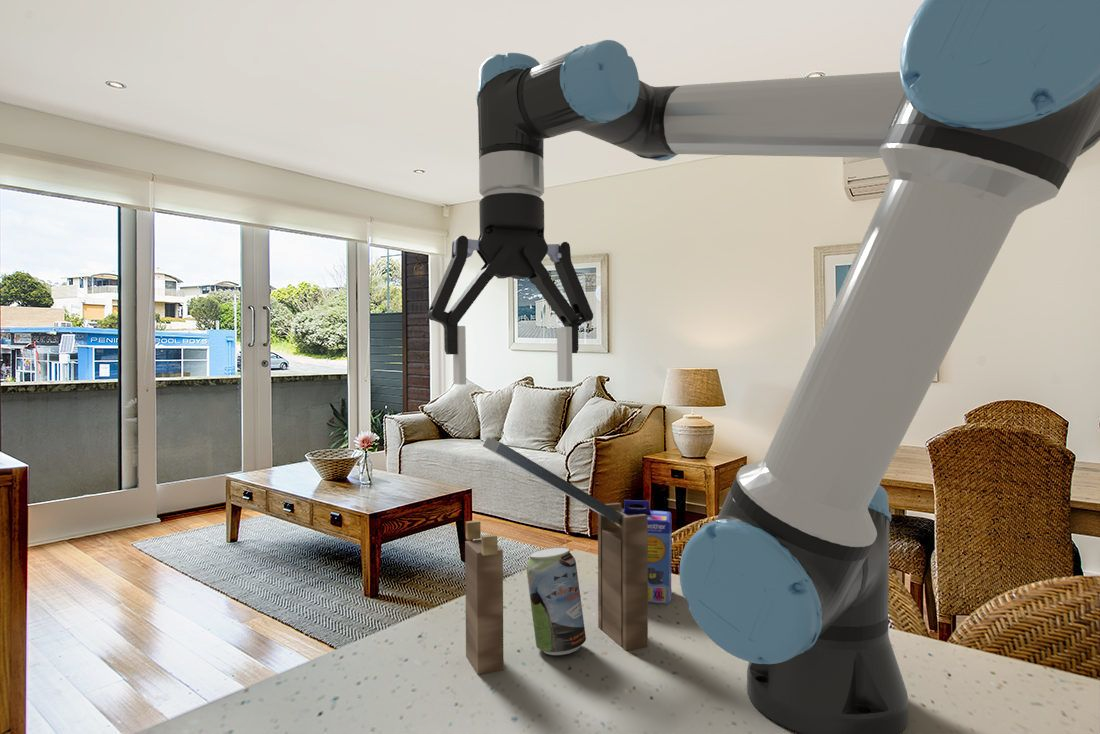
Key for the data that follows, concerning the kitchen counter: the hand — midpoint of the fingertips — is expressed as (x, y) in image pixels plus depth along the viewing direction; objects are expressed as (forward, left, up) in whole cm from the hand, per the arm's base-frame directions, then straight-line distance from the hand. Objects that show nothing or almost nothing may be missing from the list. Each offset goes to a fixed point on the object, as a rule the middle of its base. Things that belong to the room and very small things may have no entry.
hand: (514, 383), depth 77 cm
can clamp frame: (-3, -4, -32) cm, 33 cm away
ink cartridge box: (-2, -25, -32) cm, 41 cm away
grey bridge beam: (-3, -5, -13) cm, 14 cm away
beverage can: (-3, -4, -32) cm, 33 cm away
